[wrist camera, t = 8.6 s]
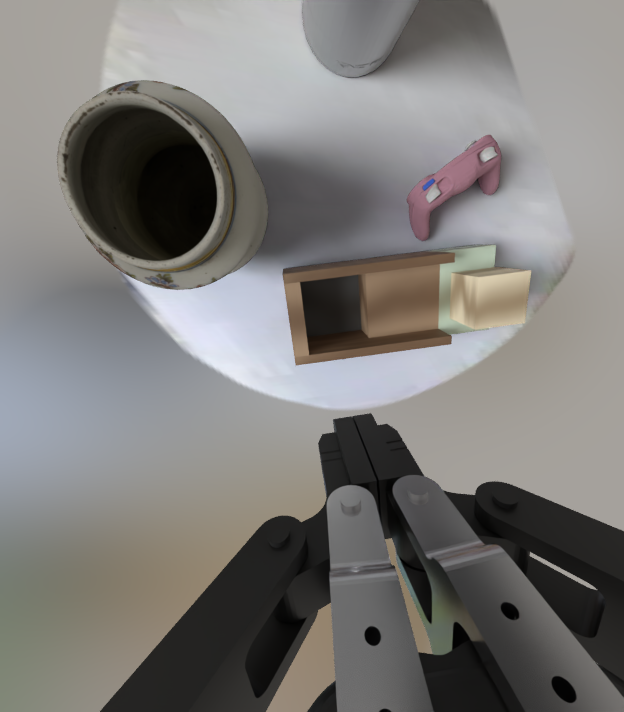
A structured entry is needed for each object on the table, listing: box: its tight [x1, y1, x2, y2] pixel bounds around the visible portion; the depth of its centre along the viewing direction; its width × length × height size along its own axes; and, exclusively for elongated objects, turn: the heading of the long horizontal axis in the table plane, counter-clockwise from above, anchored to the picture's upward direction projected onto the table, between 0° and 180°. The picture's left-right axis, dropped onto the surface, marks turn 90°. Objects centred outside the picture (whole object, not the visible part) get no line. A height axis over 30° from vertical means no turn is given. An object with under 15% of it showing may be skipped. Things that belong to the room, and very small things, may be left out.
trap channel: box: [283, 245, 496, 365], centre depth 34 cm, size 9×22×7 cm, turn 97°
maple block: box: [450, 267, 531, 330], centre depth 32 cm, size 5×5×5 cm
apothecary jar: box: [57, 81, 268, 290], centre depth 25 cm, size 12×12×18 cm
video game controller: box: [407, 135, 501, 241], centre depth 32 cm, size 10×5×7 cm, turn 124°
